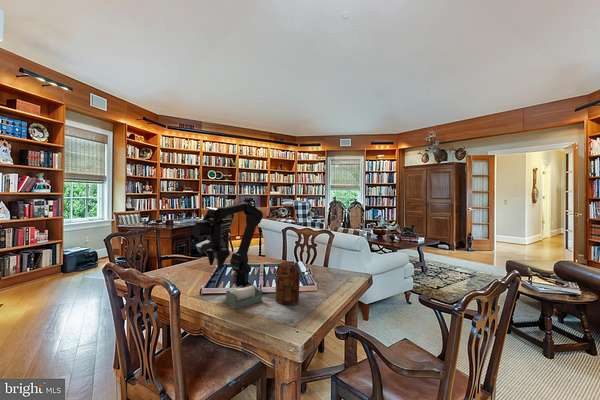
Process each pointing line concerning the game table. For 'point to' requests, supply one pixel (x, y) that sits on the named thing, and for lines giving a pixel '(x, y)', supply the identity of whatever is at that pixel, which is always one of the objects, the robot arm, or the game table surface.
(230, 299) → the grey-green grooved block
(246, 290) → the roll
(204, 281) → the game table surface
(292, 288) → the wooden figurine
